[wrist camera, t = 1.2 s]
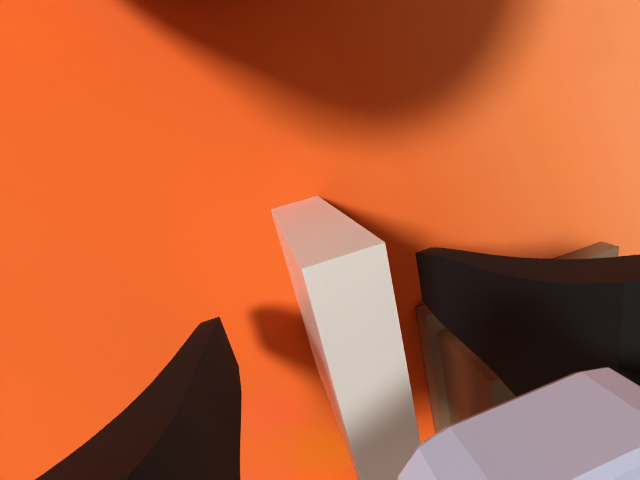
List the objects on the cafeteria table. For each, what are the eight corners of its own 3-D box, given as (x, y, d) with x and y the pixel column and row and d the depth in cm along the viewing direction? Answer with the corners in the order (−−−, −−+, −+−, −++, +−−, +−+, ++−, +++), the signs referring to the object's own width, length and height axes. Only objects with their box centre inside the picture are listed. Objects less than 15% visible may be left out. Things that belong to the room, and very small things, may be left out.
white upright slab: (317, 195, 13) (384, 242, 7) (353, 348, 15) (426, 474, 9) (270, 209, 12) (301, 268, 7) (315, 362, 15) (365, 501, 9)
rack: (601, 241, 16) (709, 272, 13) (591, 410, 20) (672, 472, 16) (415, 307, 15) (475, 363, 11) (441, 476, 19) (493, 562, 15)
